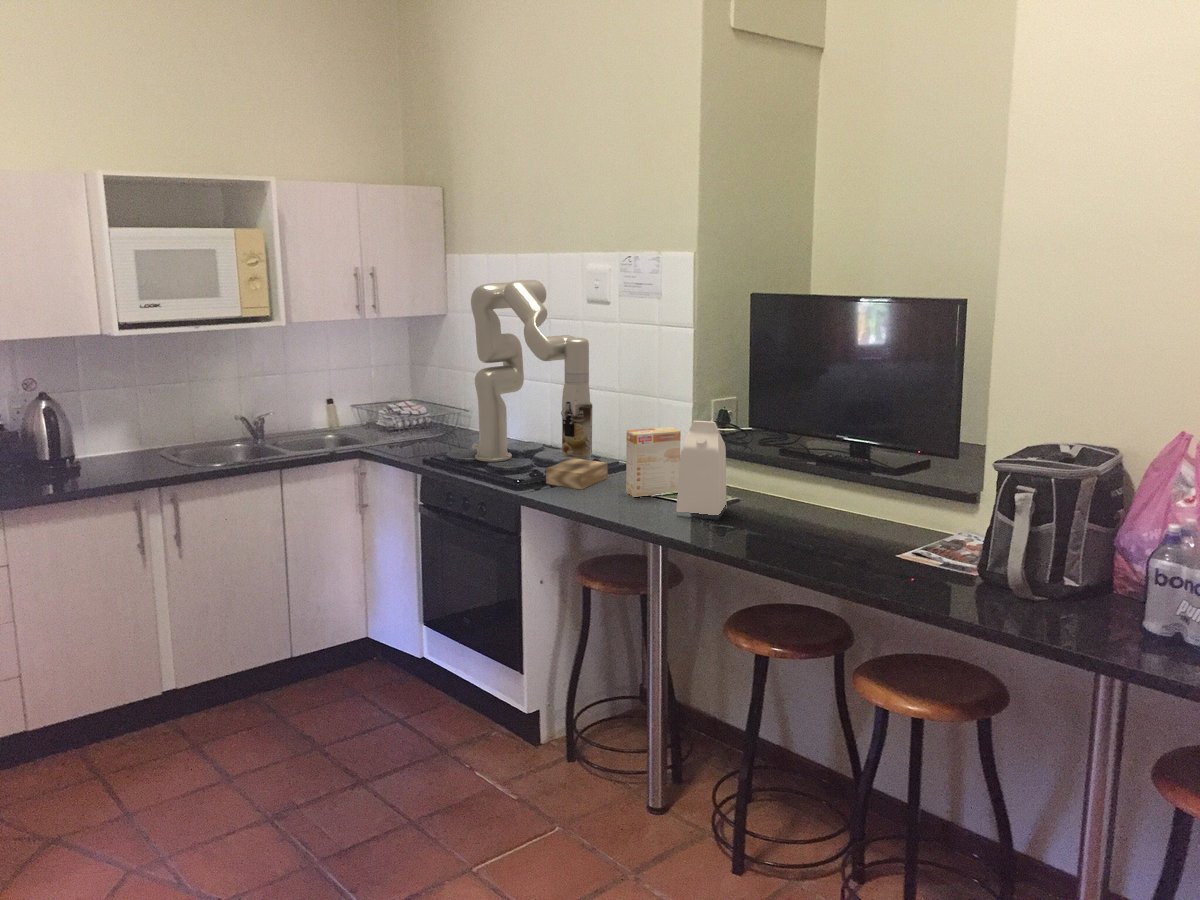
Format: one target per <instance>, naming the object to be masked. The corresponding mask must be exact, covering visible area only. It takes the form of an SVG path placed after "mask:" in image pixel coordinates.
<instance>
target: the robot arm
mask: <svg viewBox="0 0 1200 900" xmlns="http://www.w3.org/2000/svg"><path fill="white" fill-rule="evenodd" d="M546 300H547V289H546V287H545V286H544V284H543V283H542V282H540V281H539V280H536V279H528V280H527V279H525V280H523V279H522V280H514V281H511V282H489V283H484V284H481V285H478V286H477V287H476V288H475V289H474V290H473V291H472V294H471V296H470V307H471V311H472V315H473V320H474V325H475V327H474V328H475V338H476V339H475V341H476V352H477V357H478V360H479V361H480V362H482V363H484V364H485V363H486V364H495V363H502V365H498V366H497V365H496V366H489V367H484V368H482V369H480V370H478V371H477V373H476V374H475V377H474V385H475V391H476V397H477V403H478V404H477V406H478V407H477V408H478V435H479V436H478V438H479V439H478V440H479V442H478V443H473V444H472V446H471V451H476V454H475V455H474V457H475V459H476V460H477V461H480V462H486V463H488V462H492V463H493V462H495V463H496V462H497V463H498V462H505V461H508V460H511V459H512V457H513V456H512V455H513V454H512V453H511V452H509V451H508V428H507V427H508V426H507V425H508V423H507V422H508V419H507V418H508V417H507V405H506V403H505V401H504V399H503V398H502V396H501V395H505V394H511V393H516V392H519V390H521V389H522V388H523V385H524V382H525V381H524V378H525V376H524V375H525V374H524V372H525V371H524V358H523V357H524V356H523V348H522V344H521V343H522V342H520V339H519V338H518V336H517V335H515V334H513V333H507V332H506V333H502V327H501V320H500V318H499V316H498V314H497V313H496V311H495V310H496V309H498V310H501V309H511V310H512V311H513V312H514V313H515V314H516V315H517V317H518V318H519V319H520V320H521V322H522V323H523V325H524V326H523V337H524V341H525V343H526V344H525V345H526V346H527V347H528V348H529V350H530V351H531V352H532V353H533V355H534V356H535V357H536V358H538V360H540V361H543V362H553V361H554V362H555V361H561V360H562V361H564V383H563V389H562V395H561V396H562V397H561V398H562V399H561V411H560V414H561V418H562V417H563V421H564V424H565V436H568V437H574V424H573V422H574V419H575V416H578V413H579V408H580V407H583V406H586V405H592V406H593V404H592V402H591V392H590V343H589V340H588V339H587V338H584V337H576V336H573V335H570V334H564V335H549V336H545V335H544V334H543V333H542V331H541V330H540V329H539V327H540V326H542V325H543V323H544V322H545V321H546V320H547V317H548V309H547V308H546V306H545V305H544V302H545V301H546ZM570 408H571V411H572V412H573V414H568V411H569V409H570ZM568 416H569V417H571V420H570V418H569V417H568Z"/></svg>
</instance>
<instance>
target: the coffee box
mask: <svg viewBox="0 0 1200 900" xmlns="http://www.w3.org/2000/svg"><path fill="white" fill-rule="evenodd" d="M568 414H573V412H572V411H571V408H570V409H569V411H568ZM568 417H569V416H568ZM561 418H562V419H561V426H562V429H561V431H562V432H561V449H562V450H561V451H562V452H561V457H562V458H570V459H571V458H576V459H591V456H592V454H593V404H592V405H586V406H583V407H580V408H579V413H578V416H575V419H574V422H573V424H574V437H568V436H565V424H564V421H563V417H562V416H561ZM569 418H570V420H571V417H569Z"/></svg>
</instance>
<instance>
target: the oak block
mask: <svg viewBox="0 0 1200 900" xmlns="http://www.w3.org/2000/svg"><path fill="white" fill-rule="evenodd" d="M608 473H609V472H608V462H606V461H596V460H590V459H585V458H570V459H569V458H568V459H567V460H564V461H560V462H559V463H557V464H553V465H551V466H549V467H546V468H545V484H546V485H552V486H557V487H563V488H569V489H577V490H583V489H586V488H588V487H590V486H592V485H595V484H598V483H600V482H602V481H604V480H606V479H608Z"/></svg>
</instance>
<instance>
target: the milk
mask: <svg viewBox="0 0 1200 900" xmlns="http://www.w3.org/2000/svg"><path fill="white" fill-rule="evenodd" d="M681 446H682V447H681V448H680V468H679V481H678V494H676V495H677V498H676V508H675V509H676V511H677V512H690V513H699V514H708V515H719V514H720V513H721V511H722V510H723V508H724V507H725V505H726V506H727V463H726V462H727V458H726V457H727V453H726V451H727V450H726V448H727V447H726V443H725V441H724V439H723V437H722V435H721V432H719V429H718V426H717V423H716V422H715V421H707V420H693V421H692V423H691V425H690V427H689V430H688V432H687V434H686V436H685V440H684V442H683V444H682V445H681ZM676 511H675V512H676Z"/></svg>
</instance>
